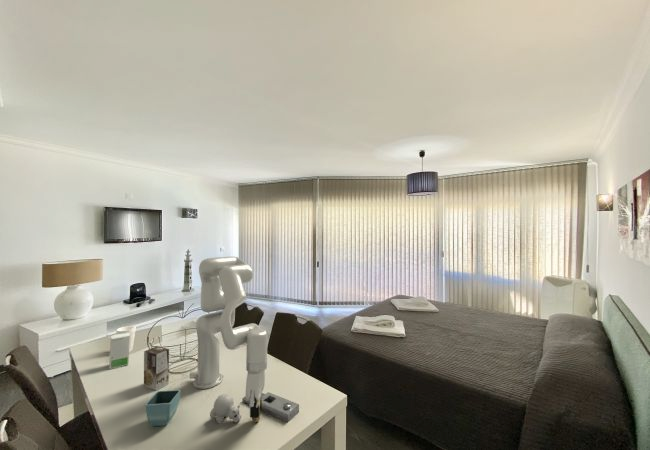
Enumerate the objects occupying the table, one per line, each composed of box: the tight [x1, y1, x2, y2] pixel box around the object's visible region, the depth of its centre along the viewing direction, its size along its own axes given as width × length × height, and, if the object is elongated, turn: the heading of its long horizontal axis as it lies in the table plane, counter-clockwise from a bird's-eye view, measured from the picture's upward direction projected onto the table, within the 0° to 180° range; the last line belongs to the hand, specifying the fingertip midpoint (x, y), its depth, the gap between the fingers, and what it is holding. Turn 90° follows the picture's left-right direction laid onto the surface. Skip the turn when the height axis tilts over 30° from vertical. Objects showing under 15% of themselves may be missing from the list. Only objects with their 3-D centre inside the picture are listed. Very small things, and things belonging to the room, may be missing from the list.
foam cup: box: [115, 325, 137, 352], centre depth 163 cm, size 10×9×13 cm
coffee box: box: [143, 345, 170, 391], centre depth 126 cm, size 9×6×16 cm
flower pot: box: [144, 389, 181, 427], centre depth 101 cm, size 9×9×9 cm
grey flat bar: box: [241, 391, 300, 423], centre depth 110 cm, size 24×7×3 cm, turn 59°
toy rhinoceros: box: [209, 393, 242, 424], centre depth 102 cm, size 7×12×8 cm, turn 70°
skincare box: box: [108, 333, 130, 370], centre depth 145 cm, size 8×7×16 cm
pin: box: [251, 398, 261, 423], centre depth 101 cm, size 3×3×10 cm
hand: (255, 413), depth 101 cm, fingers closed on pin, 3 cm apart
